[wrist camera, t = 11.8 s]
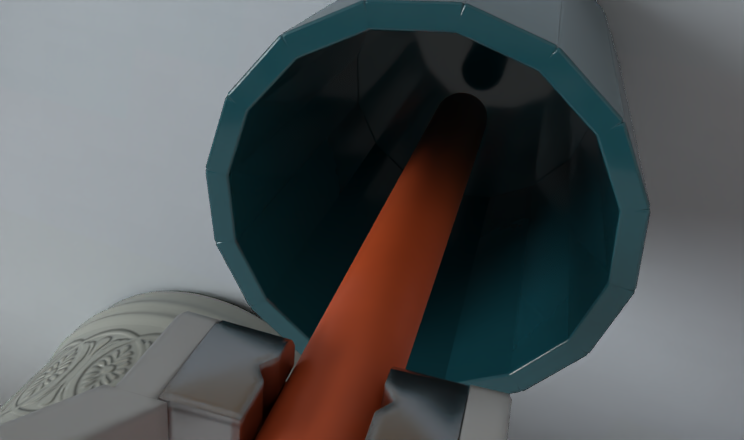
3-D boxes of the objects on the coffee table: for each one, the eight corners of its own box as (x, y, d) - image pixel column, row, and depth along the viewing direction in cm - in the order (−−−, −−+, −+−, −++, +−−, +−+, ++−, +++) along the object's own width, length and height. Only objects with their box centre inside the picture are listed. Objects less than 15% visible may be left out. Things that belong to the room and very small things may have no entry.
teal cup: (307, 1, 22) (133, 95, 13) (569, -112, 19) (565, -85, 10) (404, 227, 25) (312, 426, 16) (648, 161, 22) (697, 365, 13)
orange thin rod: (432, 95, 20) (-94, 968, 4) (479, 79, 19) (77, 1011, 4) (449, 140, 20) (33, 1077, 5) (496, 125, 20) (201, 1127, 4)
